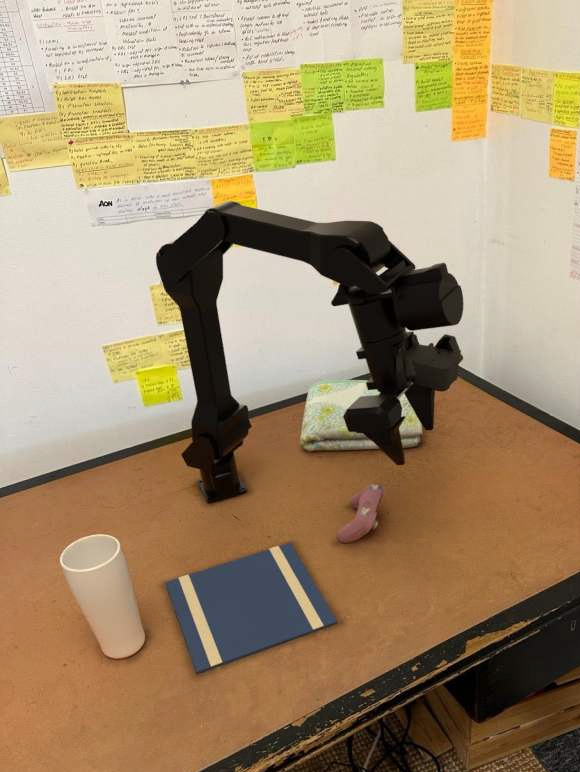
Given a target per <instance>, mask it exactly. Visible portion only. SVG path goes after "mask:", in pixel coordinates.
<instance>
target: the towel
mask: <svg viewBox="0 0 580 772" xmlns="http://www.w3.org/2000/svg"><path fill="white" fill-rule="evenodd" d="M368 380H369V379H324V380H318V381H316V382H314V383H311V384H310V385H309V388H308V390H307V396H306V400H305V406H304V411H303V417H302V423H301V430H300V438H299V445H300V447H301V448H303V450H306V451H308V452H315V451H356V450H357V451H359V450H361V451H363V450H365V451H366V450H381V449H380V448H379V447H378V446H377V445H376V444H375V443H374V442H373V441H371V440H370V439H369V438H368V437H366V436H365V435H364V434H363V433H356V432H349V431H348V430H347V427H346V424H345V421H344V418H343V416H344V414H345V412H346V410H347V409H348V408H349V407H350V406H351V405H352V404H353V403H354V402H355V401H356V400H357V399H358V398H359V397H361V396H373V395H379V394H380V393H381V392H378V390H377V389H376V390H368V388H367V385H366V382H367V381H368ZM399 400H400V403H401V406H402V415H401V416H405V419H404V421H403V422H402V424H401V425H400V427H399V432H400V437H401V442H402V447H403V449H406V448H414V447H418V444H420V443H421V436H423V426H422V424H421V423H420V421H419V419H418V417H417V416H416V414H415V412H414V410H413V408H412V407H411V405H410V403H409V401H408V399H407V398H406V396H405V394H403V395H402V396H401V397H400V398H399Z"/></svg>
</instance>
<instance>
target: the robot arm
mask: <svg viewBox="0 0 580 772" xmlns="http://www.w3.org/2000/svg"><path fill="white" fill-rule="evenodd" d="M233 245H236V246H239V247H243V248H248V249H252V250H256V251H259V252H264V253H268V254H271V255H272V254H273V255H276V256H278V257H279V256H280V257H283V258H288V259H292V260H296V261H299V262H303V263H305V264H307V265H310V266H311V267H312V268H313V269H314V270H315V271H316V272H317V273H318V274H319V275H320V276H321V277H324V278H326V279H328V280H331V281H333V282H334V283H337V284H338V288H337V290H336V293H335V295H334V296H333V298H332V300H331V301H330V304H331V306H332V307H339V306H345V305H346V306H347V305H348V307H349V312H350V315H351V317H352V320H353V324H354V326H355V327H354V328H355V331H356V333H357V337H358V340H359V344H360V346H361V347H360V348H358V349H357V350H356V351H355V355H356V357H357V360H358V361H359V360H365V363H366V365H367V368H368V372H369V375H370V378H369V379H367V380H368V381H367V382H366V385H367V388H368V390H376V389H377V390H378V392H381V393H380V394H379V395H373V396H361V397H359V398H358V399H357V400H356V401H355V402H354V403H353V404H352V405H351V406H350V407H349V408H348V409H347V410H346V412H345V414H344V416H343V418H344V421H345V424H346V427H347V430H348V431H349V432H356V433H363V434H364V435H365V436H366V437H368V438H369V439H370V440H371V441H373V442H374V443H375V444H376V445H377V446H378V447H379V448H380V449H379V450H381V451H382V452H383V453H384V454H385V455H386V456H387V457H388V458H389V459H390V460H391V461H392V462H393V463H394V464H395V465H396V466H404V465H405V464H406V458H405V451H404V448H403V447H402V442H401V437H400V432H399V427H400V425H401V424H402V422H403V421H404V419H405V416H401V415H402V406H401V403H400V400H399V398H400V397H401V396H402V395H403V394H405V396H406V398H407V399H408V401H409V403H410V405H411V407H412V408H413V410H414V412H415V414H416V416H417V417H418V419H419V421H420V423H421V424H422V428H423V429H424V430H425V431H433V430H434V425H435V424H434V423H435V421H434V420H435V397H436V392H441V393H442V392H446V391H448V390H449V389H450V388H451V385H452V384H453V383H454V382H455V381H457V380H458V375H459V367H460V363H461V362H463V360H464V356H463V354H462V349H460V346H459V343H458V341H457V337H456V336H454V335H452V334H451V335H450V334H447V333H446V334H443V335H442V337H440V338H439V340H437V342H436V344H435V345H434V342H429V344H428V345H426V344H420V342H419V339H418V336H417V334H415V332H414V331H420V330H421V331H422V330H428V329H429V330H430V329H436V328H445V327H451V326H457V325H458V324H459V323H460V322H461V320H462V319H463V318H462V317H463V314H464V295H463V290H462V286H461V285H459V283H458V281H457V278H456V276H454V275H453V274H452V273H450V272H449V270H448V267H447V263H445V262H440V263H435V264H433V265H431V266H428V267H422V268H417V269H416V265H415V263H414V262H412V261H411V260H410V258H408V257H407V255H405V254H404V253H403V252H402V250H400V249H399V248H398V247H397V246H396V245H395V244H394V243H393V242H391V240H390V239H389V236H388V235H387V234H386V232H385V231H384V228H383V227H382V226H381V225H380V224H378V223H377V222H374V221H370V220H368V221H367V220H339V221H332V222H316V221H311V220H307V219H302V218H299V217H295V216H290V215H285V214H281V213H277V212H272V211H268V210H263V209H259V208H255V207H251V206H247V205H243V204H241V203H239V202H237V201H233V200H226V201H224V202H221V203H219V204H217V205H214V206H212V207H210V208H207V209H206V210H205V211H204V213H203V214H202V215H201V216H200V217H199V218H198V220H197V221H196V222H195V223H194V224H193V225H191V226H190V227H189V228H188V229H187V230H186V231H184V232H183V233H182V234H181V235H180V236H179V237H178V238H176V239H174V240H172V241H169V242H167V243H165V244H163V245H161V246H160V248H159V250H158V251H157V252H156V253H155V264H156V265H155V266H156V269H157V271H158V275H159V277H160V280H161V283H162V287H163V289H164V292H165V293H166V294H167V295H168V296H169V297H170V298H171V300H172V301H173V302H174V303H175V304H176V306H178V308H179V312H180V317H181V322H182V329H183V333H184V338H185V339H184V340H185V343H186V349H187V354H188V360H189V365H190V370H191V374H192V380H193V385H194V391H195V396H196V405H195V408H194V411H193V415H192V417H191V420H190V423H191V424H190V425H191V443H190V444H189V445H188V446H187V447H186V448H185V449H184V450H183V452H182V453H181V454H180V455H181V458H182V459H183V461H184V464H185V465H186V466H187V467H189V468H193V469H197V470H199V474H200V477H201V479H199V480H198V481H197V484H198V487H199V489H200V491H201V493H202V495H203V497H204V500H205V502H206V503H208V504H211V503H215V502H217V501H222V500H224V499H228V498H232V497H235V496H238V495H242V494H245V493H247V491H248V489H247V487H246V485H245V483H244V482H243V480H242V478H241V476H240V474H239V472H238V467H237V461H236V456H235V451H237V449H239V448H240V447H242V446H244V440H245V439H246V438H247V437H248V435H249V433H250V429H252V427H253V426H252V424H251V422H250V418H249V407H248V405H247V404H240V403H239V402H238V400H236V398H234V396H233V395H232V391H231V386H230V379H229V378H230V377H229V371H228V367H227V366H228V365H227V361H226V354H225V348H224V342H223V341H224V340H223V336H222V329H221V323H220V317H219V310H218V302H217V301H218V297H219V294H220V291H221V287H222V285H223V280H224V256H225V254H226V253H227V252H228V251H229V250H230V249H231V248H232V247H233ZM383 268H386V269H385V270H384V271H383V272H381V273H380V274H379V275H378V274H377V273H378V272H380V271H381V270H382V269H383ZM407 330H408V331H407Z"/></svg>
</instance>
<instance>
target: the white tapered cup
mask: <svg viewBox="0 0 580 772" xmlns="http://www.w3.org/2000/svg"><path fill="white" fill-rule="evenodd" d="M59 562H60V563H59V564H60V567H61V571H62V573H63V575H64V578H65V582H66V583H67V585H68V588H69V590H70V592H71V594H72V596H73V598H74V600H75V602H76V603H77V606H78V607H79V609H80V611H81V612H82V614H83V616H84V619H85V620H86V622H87V624H88V625H89V627H90V629H91V631H92V633H93V634H94V637H95V639H96V640H97V643H98V645H99V647H100V650H101V652H102V653H103V654H104V655H105V656H106V657H107V658H111V659H118V660H120V659H126V658H129V657H131V656H133V655H135V654H137V652H139V650H141V648H142V647H144V644H145V641H146V633H145V630H144V627H143V624H142V620H141V615H140V611H139V606H138V603H137V597H136V593H135V589H134V584H133V579H132V575H131V570H130V566H129V564H128V561H127V557H126V556H125V553H124V550H123V548H122V545H121V543H120V541H119V540H118V538H116V537H114V536H112V535H109V534H101V533H99V534H91V535H87V536H84V537H80V538H79V539H77V540H74V541H73V542H72V543H70V544H69V545H68V546H66V547H65V548H64V549H63V551H62V552H61V554H60V556H59Z"/></svg>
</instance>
